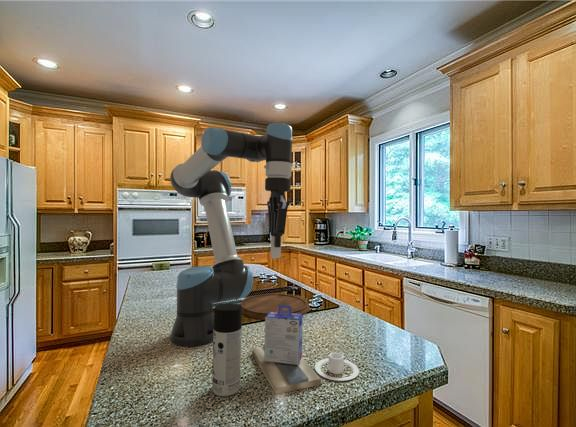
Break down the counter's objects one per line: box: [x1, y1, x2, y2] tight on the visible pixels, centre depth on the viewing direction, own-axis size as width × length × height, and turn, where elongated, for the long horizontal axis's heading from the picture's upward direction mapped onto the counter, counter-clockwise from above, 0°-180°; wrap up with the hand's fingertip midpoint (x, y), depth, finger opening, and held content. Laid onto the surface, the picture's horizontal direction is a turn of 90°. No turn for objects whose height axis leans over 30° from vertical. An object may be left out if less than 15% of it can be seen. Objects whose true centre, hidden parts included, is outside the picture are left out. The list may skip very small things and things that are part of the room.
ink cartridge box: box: [264, 305, 304, 365], centre depth 84 cm, size 10×6×14 cm, turn 78°
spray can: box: [211, 303, 243, 398], centre depth 73 cm, size 7×7×20 cm
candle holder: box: [314, 352, 360, 382], centre depth 83 cm, size 12×12×4 cm
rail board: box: [251, 343, 322, 395], centre depth 84 cm, size 12×22×2 cm, turn 21°
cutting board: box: [239, 293, 311, 321], centre depth 137 cm, size 32×32×3 cm
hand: (275, 257), depth 90 cm, fingers closed
